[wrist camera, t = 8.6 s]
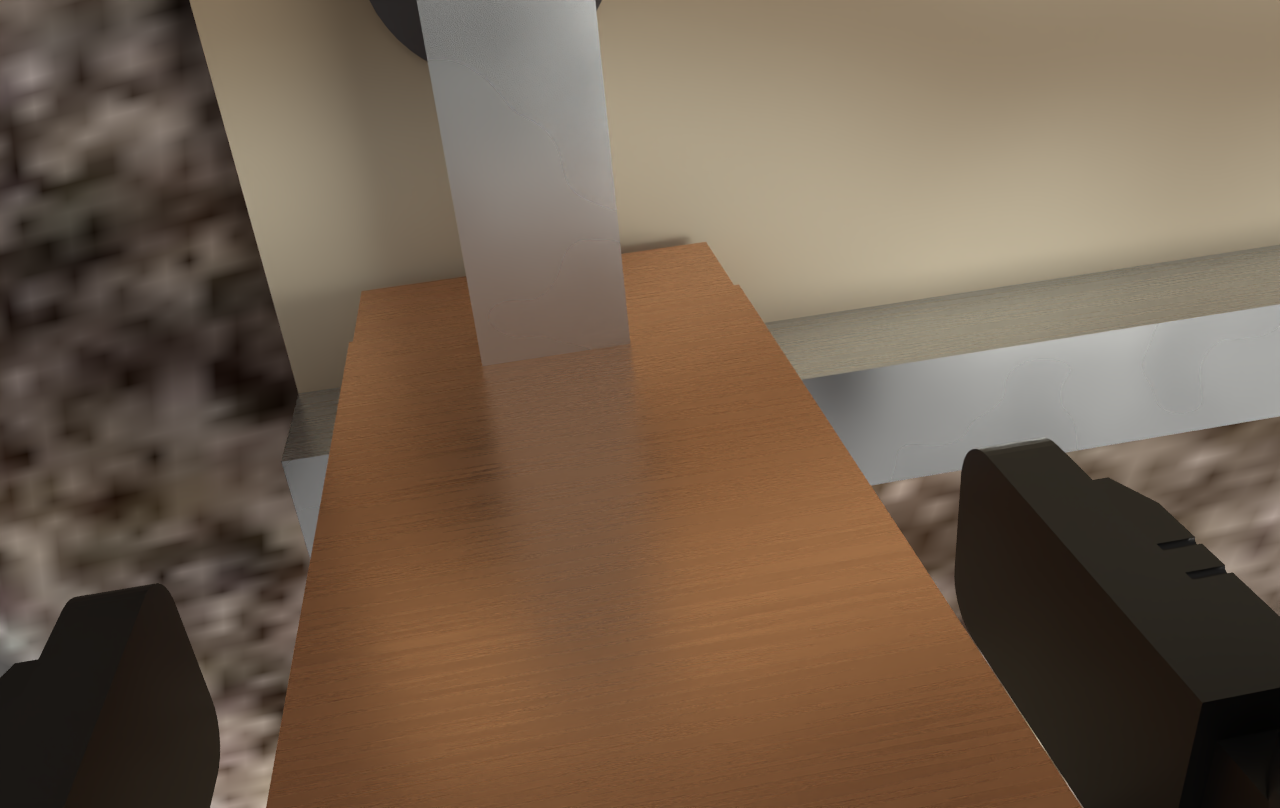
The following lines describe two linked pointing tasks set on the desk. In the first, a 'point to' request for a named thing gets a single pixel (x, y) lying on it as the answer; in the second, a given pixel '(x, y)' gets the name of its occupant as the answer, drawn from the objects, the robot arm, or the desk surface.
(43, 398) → the desk surface
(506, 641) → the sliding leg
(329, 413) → the divider beam
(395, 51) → the bolt plate
